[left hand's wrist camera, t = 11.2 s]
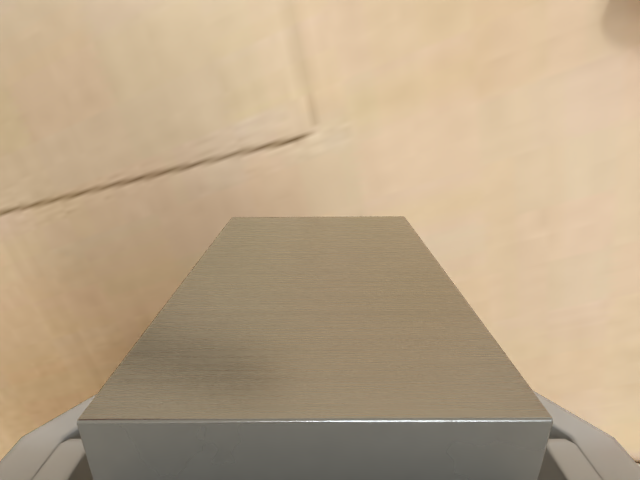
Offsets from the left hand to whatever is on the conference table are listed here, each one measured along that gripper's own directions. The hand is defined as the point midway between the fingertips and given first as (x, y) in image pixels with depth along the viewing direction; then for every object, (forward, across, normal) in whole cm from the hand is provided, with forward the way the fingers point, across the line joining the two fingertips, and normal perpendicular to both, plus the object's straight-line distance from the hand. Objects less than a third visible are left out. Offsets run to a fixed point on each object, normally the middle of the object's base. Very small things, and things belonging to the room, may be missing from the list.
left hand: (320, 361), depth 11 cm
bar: (+4, 0, -10) cm, 10 cm away
